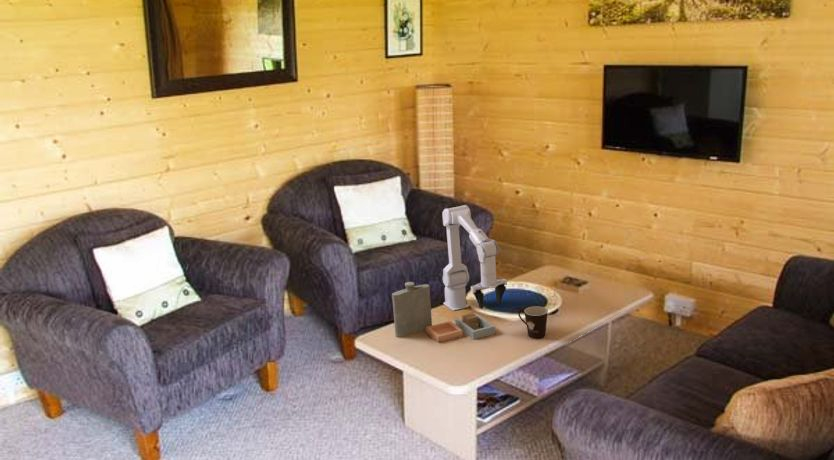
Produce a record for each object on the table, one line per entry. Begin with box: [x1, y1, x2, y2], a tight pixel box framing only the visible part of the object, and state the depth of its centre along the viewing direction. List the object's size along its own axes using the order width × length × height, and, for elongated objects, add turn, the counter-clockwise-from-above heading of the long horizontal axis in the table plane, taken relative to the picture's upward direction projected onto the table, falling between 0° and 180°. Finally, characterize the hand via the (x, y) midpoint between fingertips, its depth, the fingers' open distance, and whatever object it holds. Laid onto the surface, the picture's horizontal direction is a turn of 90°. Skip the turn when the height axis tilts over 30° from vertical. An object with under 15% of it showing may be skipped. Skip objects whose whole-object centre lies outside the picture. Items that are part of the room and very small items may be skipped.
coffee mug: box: [517, 305, 549, 340], centre depth 288 cm, size 12×9×10 cm
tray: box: [425, 320, 464, 344], centre depth 294 cm, size 10×10×2 cm
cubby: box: [454, 313, 496, 340], centre depth 296 cm, size 15×9×3 cm, turn 24°
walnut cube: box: [461, 312, 479, 329], centre depth 299 cm, size 4×4×4 cm
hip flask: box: [391, 281, 433, 339], centre depth 296 cm, size 16×4×20 cm, turn 119°
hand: (489, 305), depth 292 cm, fingers open, 7 cm apart
